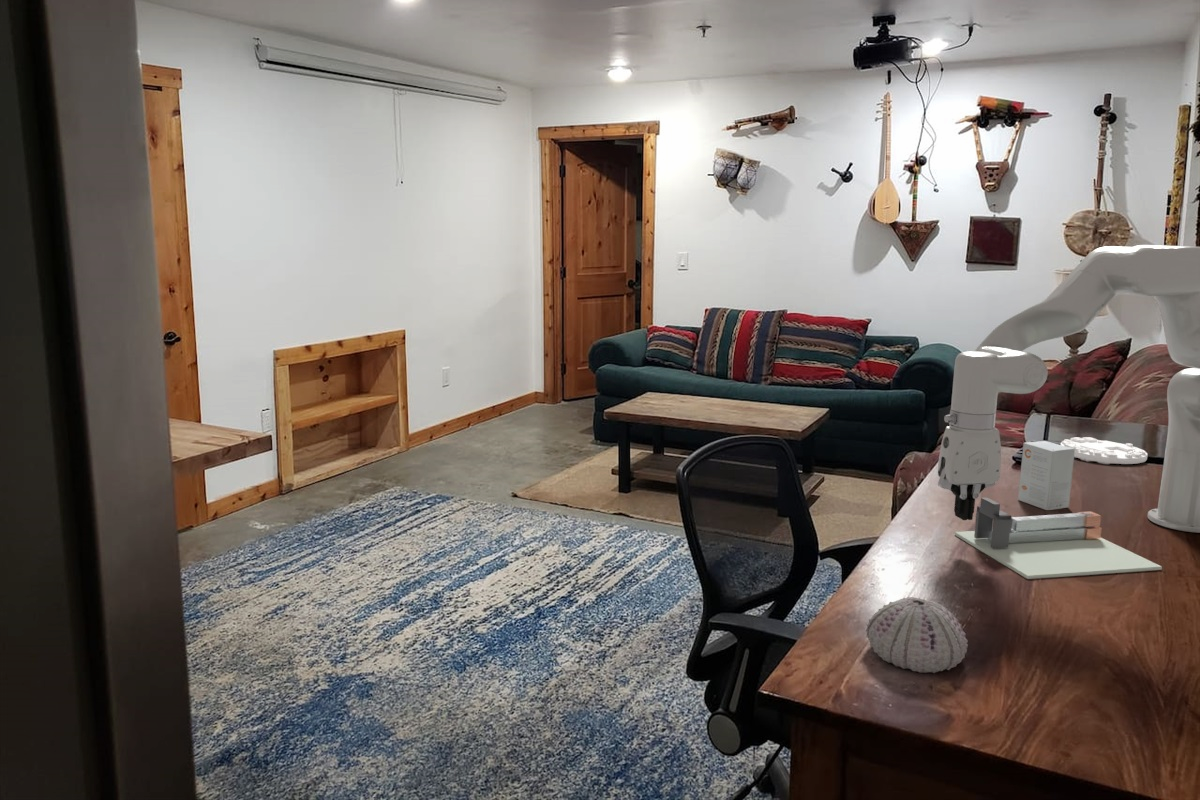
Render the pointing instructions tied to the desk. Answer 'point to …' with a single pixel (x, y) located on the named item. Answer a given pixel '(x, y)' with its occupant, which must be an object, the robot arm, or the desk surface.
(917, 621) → the sea urchin shell
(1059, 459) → the small box
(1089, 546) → the mat
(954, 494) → the robot arm
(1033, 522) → the jaw
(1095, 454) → the embossed medallion
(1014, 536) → the base
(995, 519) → the lock collar
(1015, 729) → the desk surface
